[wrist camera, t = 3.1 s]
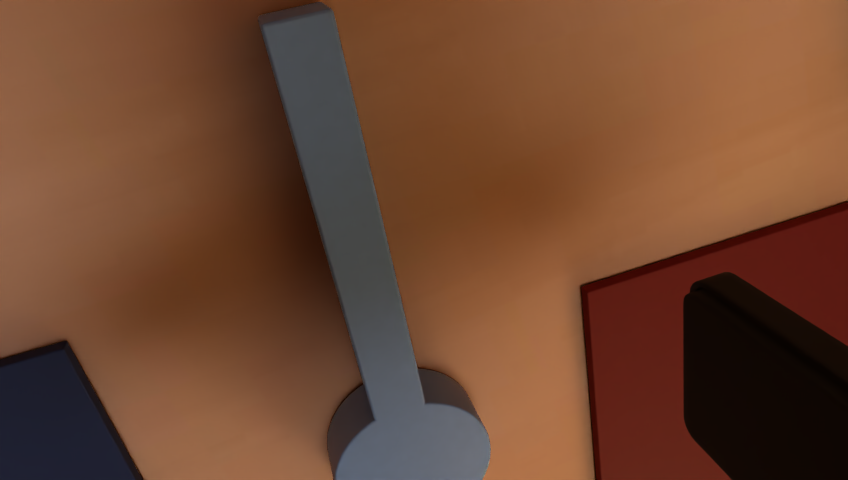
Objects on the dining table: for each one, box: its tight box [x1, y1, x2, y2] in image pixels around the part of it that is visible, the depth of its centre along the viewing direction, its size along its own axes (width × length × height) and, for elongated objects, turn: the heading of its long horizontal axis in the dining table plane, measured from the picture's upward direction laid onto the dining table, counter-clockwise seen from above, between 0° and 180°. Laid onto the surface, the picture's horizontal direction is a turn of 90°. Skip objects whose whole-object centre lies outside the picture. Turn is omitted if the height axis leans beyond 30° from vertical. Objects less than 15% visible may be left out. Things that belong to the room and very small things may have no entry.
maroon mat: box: [581, 202, 848, 480], centre depth 23 cm, size 18×10×1 cm, turn 11°
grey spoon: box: [258, 2, 491, 480], centre depth 16 cm, size 14×4×2 cm, turn 11°
